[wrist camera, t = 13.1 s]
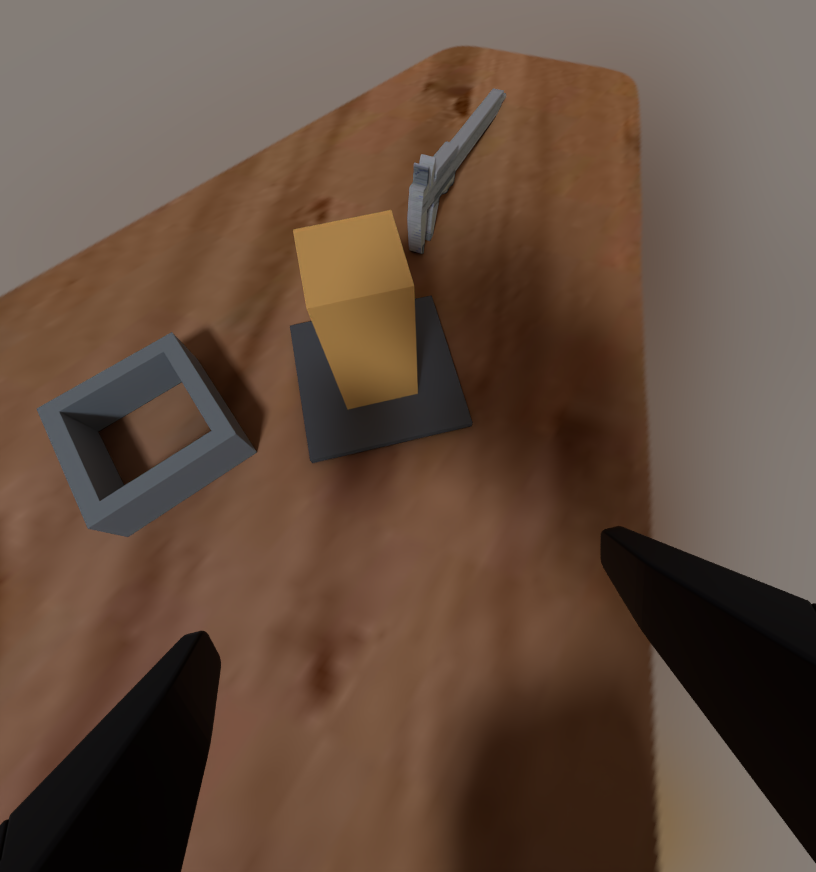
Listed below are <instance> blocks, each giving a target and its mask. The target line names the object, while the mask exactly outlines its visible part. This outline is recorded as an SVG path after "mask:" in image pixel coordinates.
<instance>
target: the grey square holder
mask: <svg viewBox="0 0 816 872" xmlns="http://www.w3.org/2000/svg"><path fill="white" fill-rule="evenodd" d="M181 382H182V383H183V384H184V386H185V388H186V389H187V391H188V393H189V394H190V396H191V398H192V399H193V401H194V403H195V404H196V406H197V408H198V409H199V411H200V413H201V414H202V416H203V417H204V419H205V421H206V422H207V424H208V426H209V427H210V429H211V431H210V432H209V433H207V434H206V435H204V436H203V437H201V438H199V439H198V440H196V441H195V442H193V443H191V444H190V445H188V446H187V447H185V448H183V449H182V450H180V451H179V452H177V453H176V454H174V455H172V456H171V457H169V458H168V459H166V460H164V461H163V462H161V463H160V464H158V465H156V466H155V467H153V468H152V469H150V470H149V471H147V472H145V473H144V474H142V475H141V476H139V477H137V478H136V479H134V480H133V481H131V482H129V483H128V484H126V485H125V486H124V484H123V482H122V480H121V478H120V476H119V474H118V472H117V470H116V468H115V465H114V463H113V461H112V459H111V457H110V455H109V453H108V451H107V449H106V447H105V445H104V443H103V441H102V439H101V437H100V434H99V432H98V431H100V430H102V429H103V428H105V427H107V426H108V425H110V424H112V423H114V422H115V421H117V420H119V419H120V418H122V417H124V416H125V415H127V414H129V413H130V412H132V411H134V410H135V409H137V408H139V407H140V406H142V405H144V404H146V403H147V402H149V401H151V400H152V399H154V398H156V397H157V396H159V395H161V394H162V393H164V392H166V391H167V390H169V389H171V388H172V387H174V386H176V385H177V384H179V383H181ZM37 411H38V413H39V416H40V418H41V420H42V423H43V425H44V427H45V430H46V432H47V434H48V437H49V439H50V441H51V444H52V446H53V448H54V451H55V453H56V455H57V458H58V460H59V462H60V465H61V467H62V469H63V472H64V474H65V476H66V479H67V481H68V483H69V486H70V488H71V490H72V493H73V495H74V497H75V500H76V502H77V504H78V507H79V509H80V511H81V514H82V516H83V518H84V521H85V523H86V525H87V528H88V529H92V530H97V531H102V532H106V533H111V534H116V535H121V536H125V537H129V536H130V535H132V534H133V533H135V532H136V531H138V530H139V529H141V528H142V527H144V526H145V525H147V524H148V523H150V522H151V521H153V520H155V519H156V518H158V517H159V516H161V515H162V514H164V513H165V512H167V511H168V510H170V509H171V508H173V507H174V506H176V505H177V504H179V503H180V502H182V501H183V500H185V499H186V498H188V497H190V496H191V495H193V494H194V493H196V492H197V491H199V490H200V489H202V488H203V487H205V486H206V485H208V484H209V483H211V482H212V481H214V480H215V479H217V478H218V477H220V476H222V475H223V474H225V473H226V472H228V471H229V470H231V469H232V468H234V467H235V466H237V465H238V464H240V463H241V462H243V461H244V460H246V459H247V458H249V457H250V456H252V455H254V454H255V453H257V452H256V450H255V448H254V447H253V445H252V444H251V442H250V441H249V439H248V437H247V436H246V434H245V433H244V431H243V430H242V428H241V427H240V425H239V423H238V422H237V420H236V419H235V417H234V416H233V414H232V412H231V411H230V409H229V408H228V406H227V405H226V403H225V401H224V400H223V398H222V397H221V395H220V394H219V392H218V391H217V389H216V387H215V386H214V384H213V383H212V381H211V380H210V378H209V376H208V375H207V373H206V372H205V370H204V369H203V367H202V365H201V364H200V362H199V361H198V359H197V358H196V357H195V356H194V355H193V354H192V353H191V352H190V351H189V350H188V349H187V347H186V346H185V345H184V344H183V343H182V342H181V341H180V340H179V339H178V338H177V337H176V336H175V335H174V334H173V333H172V332H171V333H170V334H168V335H166V336H164V337H163V338H161V339H159V340H157V341H156V342H154V343H152V344H150V345H148V346H147V347H145V348H143V349H141V350H140V351H138V352H136V353H134V354H133V355H131V356H129V357H127V358H125V359H124V360H122V361H120V362H118V363H117V364H115V365H113V366H111V367H110V368H108V369H106V370H104V371H102V372H101V373H99V374H97V375H95V376H94V377H92V378H90V379H88V380H87V381H85V382H83V383H81V384H79V385H78V386H76V387H74V388H72V389H71V390H69V391H67V392H65V393H63V394H62V395H60V396H58V397H56V398H55V399H53V400H51V401H49V402H48V403H46V404H44V405H42V406H40V407H39V408H37Z"/></svg>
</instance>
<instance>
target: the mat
mask: <svg viewBox="0 0 816 872" xmlns="http://www.w3.org/2000/svg"><path fill="white" fill-rule="evenodd" d="M415 323H416V353H417V383H418V394H414V395H410V396H405V397H401V398H397V399H392V400H388V401H383V402H379V403H375V404H370V405H366V406H361V407H357V408H353V409H347V407H346V404H345V402H344V399H343V397H342V395H341V392H340V390H339V387H338V385H337V382H336V380H335V377H334V375H333V372H332V370H331V367H330V365H329V362H328V360H327V358H326V355H325V353H324V350H323V348H322V345H321V343H320V340H319V338H318V335H317V333H316V330H315V328H314V326H313V323H312V321H310V322H305V323H301V324H296V325H291V326H290V330H291V337H292V343H293V350H294V357H295V363H296V370H297V376H298V383H299V390H300V396H301V403H302V410H303V416H304V423H305V430H306V436H307V443H308V450H309V456H310V461H311V462H312V463H315V462H319V461H324V460H328V459H332V458H337V457H341V456H345V455H349V454H354V453H358V452H362V451H367V450H371V449H375V448H380V447H384V446H388V445H393V444H397V443H401V442H405V441H410V440H414V439H418V438H423V437H427V436H431V435H436V434H440V433H444V432H449V431H453V430H457V429H461V428H466V427H470V426H472V420H471V417H470V413H469V410H468V407H467V404H466V401H465V398H464V395H463V392H462V389H461V385H460V382H459V379H458V376H457V373H456V370H455V367H454V364H453V361H452V358H451V354H450V351H449V348H448V345H447V342H446V339H445V336H444V333H443V330H442V326H441V323H440V320H439V317H438V314H437V311H436V308H435V305H434V302H433V299H432V295H431V296H427V297H422V298H417V299H415Z"/></svg>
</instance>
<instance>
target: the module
mask: <svg viewBox="0 0 816 872" xmlns="http://www.w3.org/2000/svg"><path fill="white" fill-rule="evenodd" d="M293 233H294V239H295V244H296V250H297V256H298V262H299V267H300V273H301V279H302V285H303V290H304V296H305V302H306V308H307V311H308V313H309V316H310V318H311V321H312V323H313V326H314V328H315V330H316V333H317V335H318V338H319V340H320V343H321V345H322V348H323V350H324V353H325V355H326V358H327V360H328V362H329V365H330V367H331V370H332V372H333V375H334V377H335V380H336V382H337V385H338V387H339V390H340V392H341V395H342V397H343V399H344V402H345V404H346V407H347V409H353V408H357V407H361V406H366V405H370V404H375V403H379V402H383V401H388V400H392V399H397V398H401V397H405V396H410V395H414V394H418V383H417V353H416V323H415V293H414V283H413V280H412V277H411V274H410V270H409V267H408V264H407V260H406V257H405V254H404V251H403V247H402V244H401V241H400V238H399V234H398V231H397V228H396V225H395V221H394V218H393V215H392V211H391V210H388V211H383V212H378V213H373V214H368V215H364V216H359V217H354V218H349V219H344V220H339V221H334V222H329V223H324V224H319V225H314V226H309V227H304V228H299V229H294V230H293Z"/></svg>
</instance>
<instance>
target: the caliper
mask: <svg viewBox="0 0 816 872" xmlns="http://www.w3.org/2000/svg"><path fill="white" fill-rule="evenodd" d="M505 98H506V93H504V91H503V90H498V89H492V91H491V92H490V93H489V94H488V96H487V97H486V98H485V99H484V101H483V102H482V103H481V104H480V105H479V107H478V108H477V109H476V110H475V112H474V113H473V114H472V115H471V117H470V118H469V119H468V120H467V122H466V123H465V124H464V125H463V127H462V128H461V129H460V130H459V132H458V133H457V134H456V135H455V137H454V138H453V139H452V140H451V142H445V143H444V144H443V146H442V147H441V148H440V149H439V150H438V151H437V153H436V154H435V155H434V156H433V157H431V156H427V155H422V154H421V158H420V163H419V164H418V163H414V174H413V183H412V184H411V186H410V188H409V203H408V218H407V219H408V241H409V250H410V251H414V252H417V253H421V254H423V253H424V243H425V240H429V241H430V240H431V238H432V236H433V231H434V225H435V220H436V215H437V209H438V204H439V198H440V196H441V195H442V194H445V193H447V192H448V190H449V188H450V186H452V185H453V183H454V179H455V172H456V170H457V169H458V167H459V166H460V165H461V163H462V162H463V161H464V159H465V158H466V156H467V155H468V154H469V152H470V151H471V149H472V148H473V147H474V145H475V144H476V143H477V141H478V140H479V138H480V137H481V136H482V134H483V133H484V132H485V130H486V129H487V128H488V126H489V125H490V124H491V122H492V121H493V119H494V118H495V117H496V115H497V113H498V111H499V109H500V107H501V104H502V102H503V101H504V99H505Z"/></svg>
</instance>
